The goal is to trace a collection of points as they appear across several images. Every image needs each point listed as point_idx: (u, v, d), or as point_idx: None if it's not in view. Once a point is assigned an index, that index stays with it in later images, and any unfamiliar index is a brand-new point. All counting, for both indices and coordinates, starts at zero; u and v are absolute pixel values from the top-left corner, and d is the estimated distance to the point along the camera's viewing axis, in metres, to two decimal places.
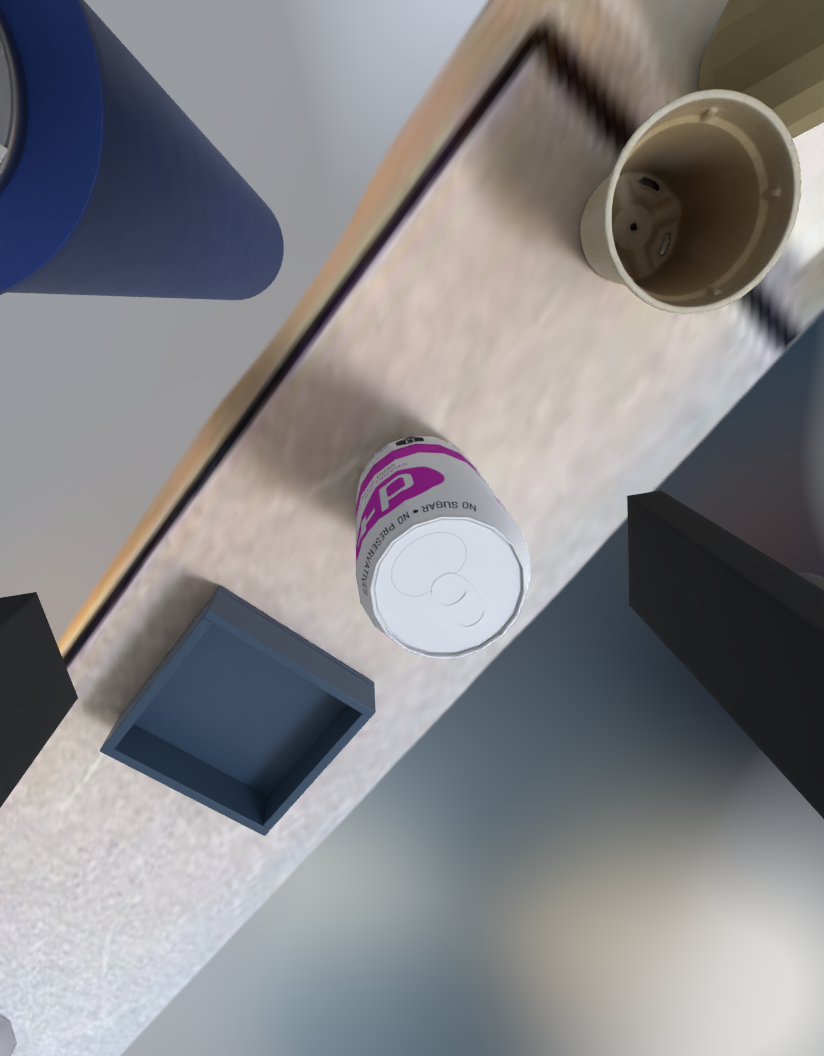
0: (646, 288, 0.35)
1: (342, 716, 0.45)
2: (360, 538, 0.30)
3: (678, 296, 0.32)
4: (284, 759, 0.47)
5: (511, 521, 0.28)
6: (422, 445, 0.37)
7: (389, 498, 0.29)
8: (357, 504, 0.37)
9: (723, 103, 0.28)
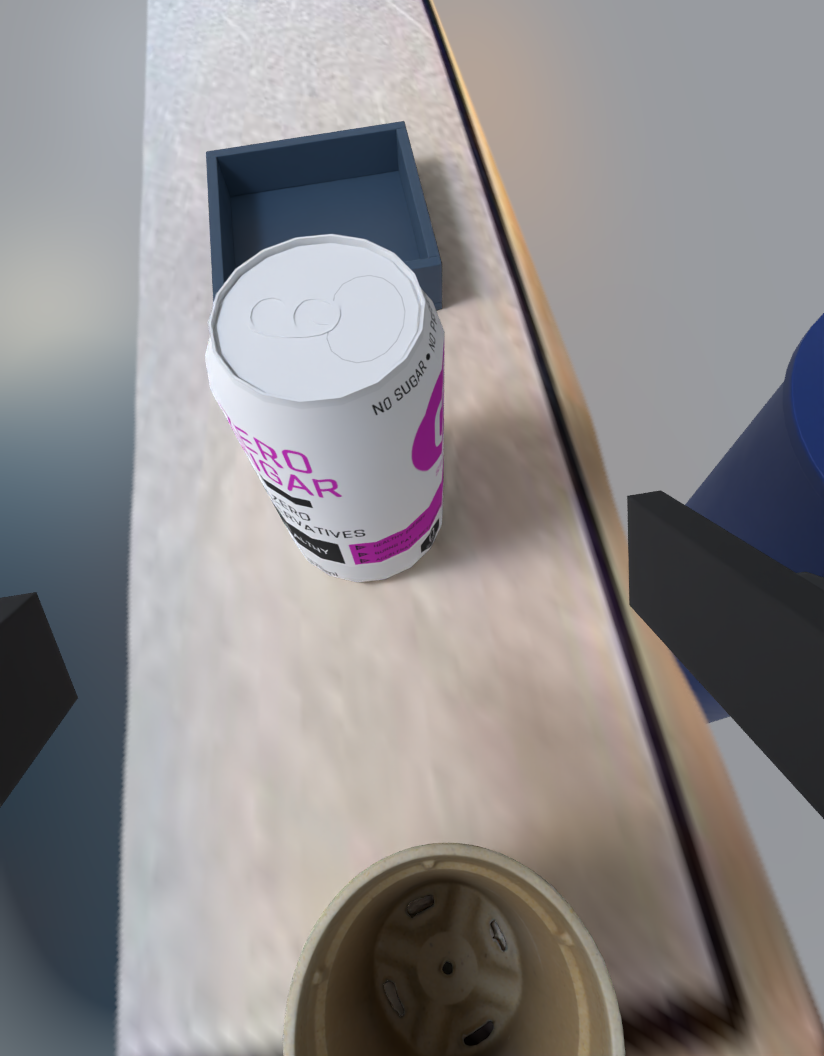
0: (379, 908, 0.23)
1: None
2: None
3: (350, 923, 0.20)
4: (246, 230, 0.42)
5: (317, 442, 0.19)
6: (423, 530, 0.29)
7: None
8: None
9: None
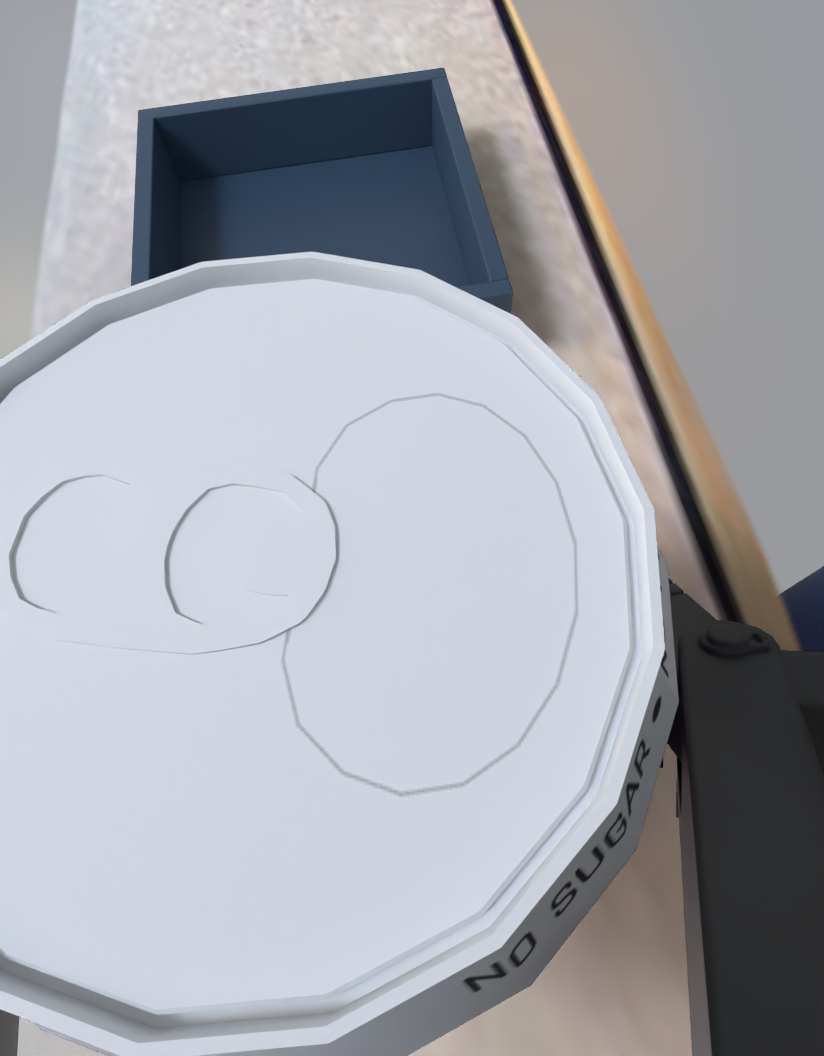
0: None
1: None
2: None
3: None
4: (201, 232, 0.28)
5: None
6: None
7: None
8: None
9: None
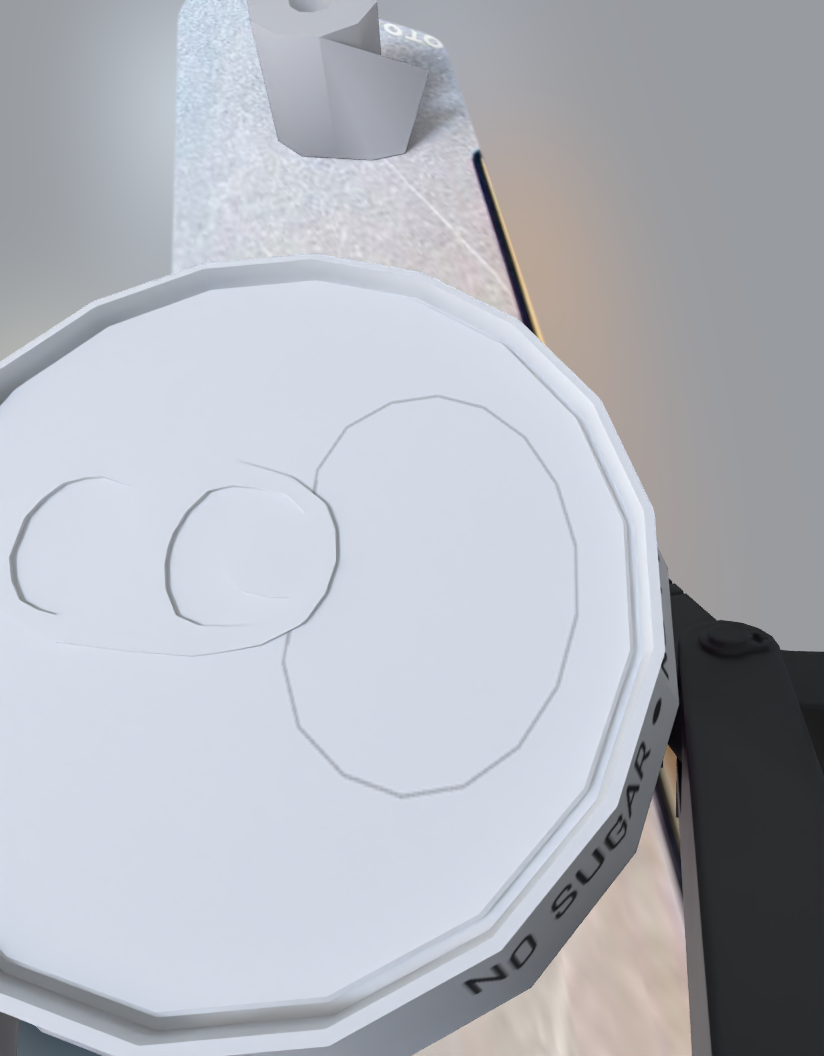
0: None
1: None
2: None
3: None
4: None
5: None
6: None
7: None
8: None
9: None
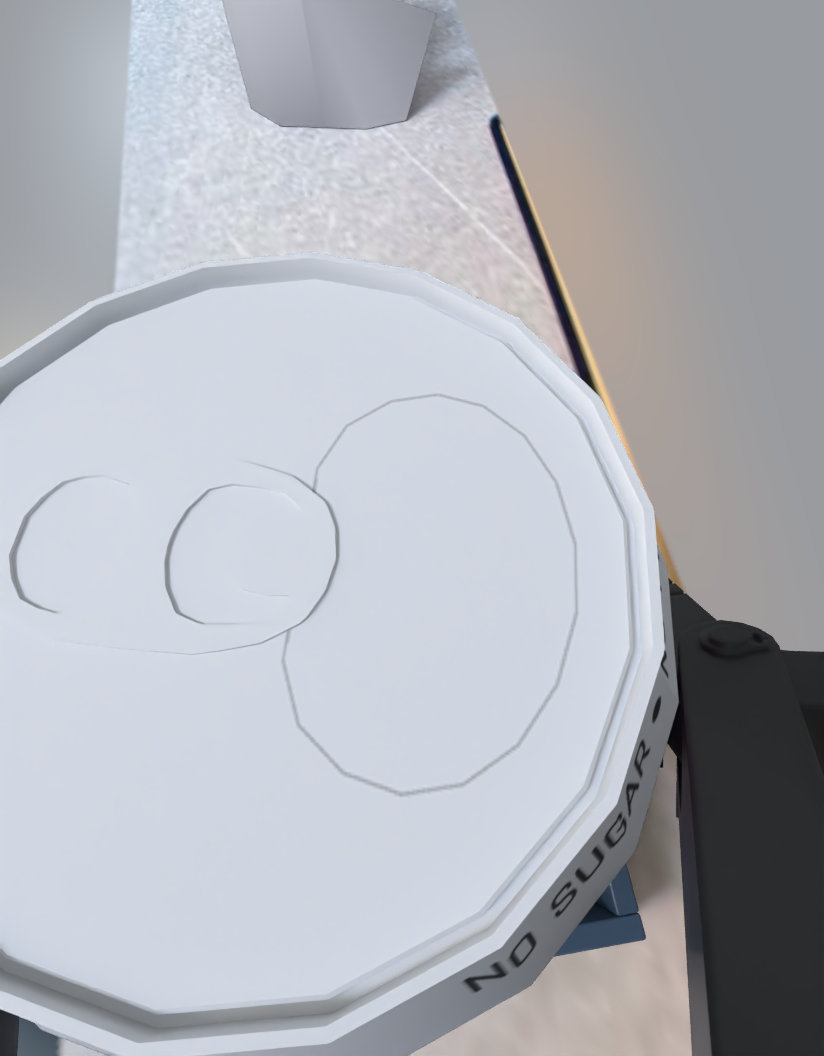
0: None
1: None
2: None
3: None
4: None
5: None
6: None
7: None
8: None
9: None
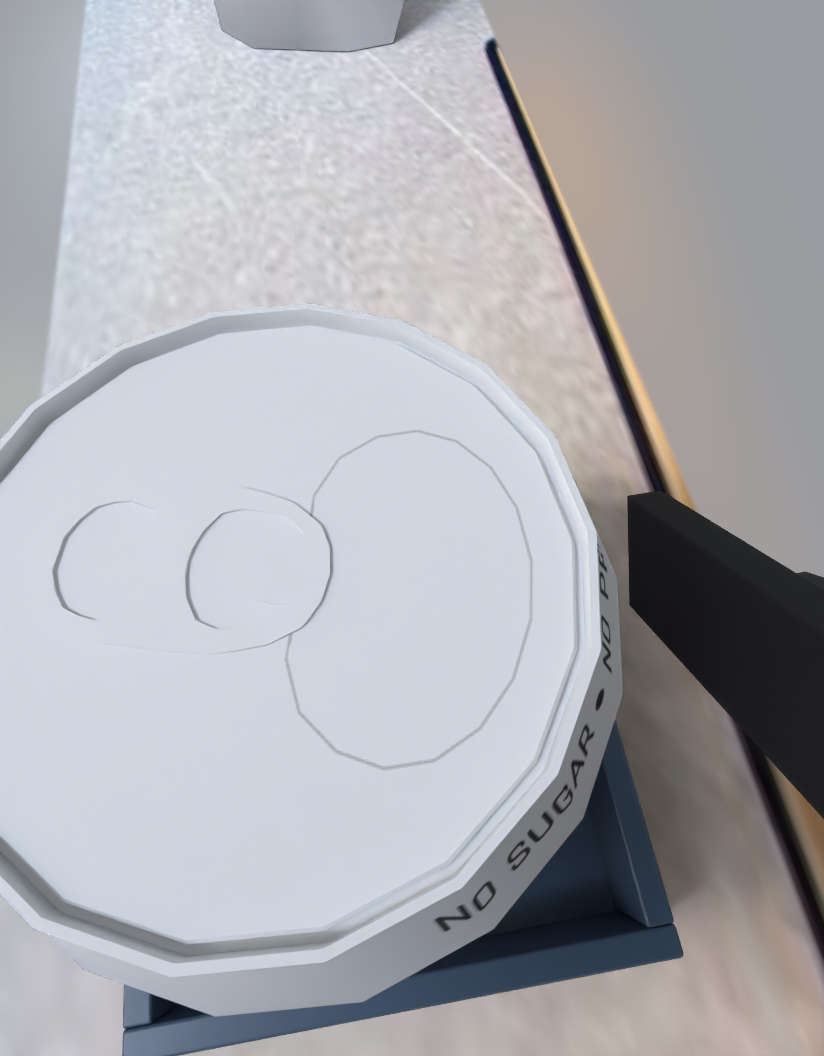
0: None
1: None
2: None
3: None
4: None
5: (251, 1008, 0.06)
6: None
7: None
8: None
9: None
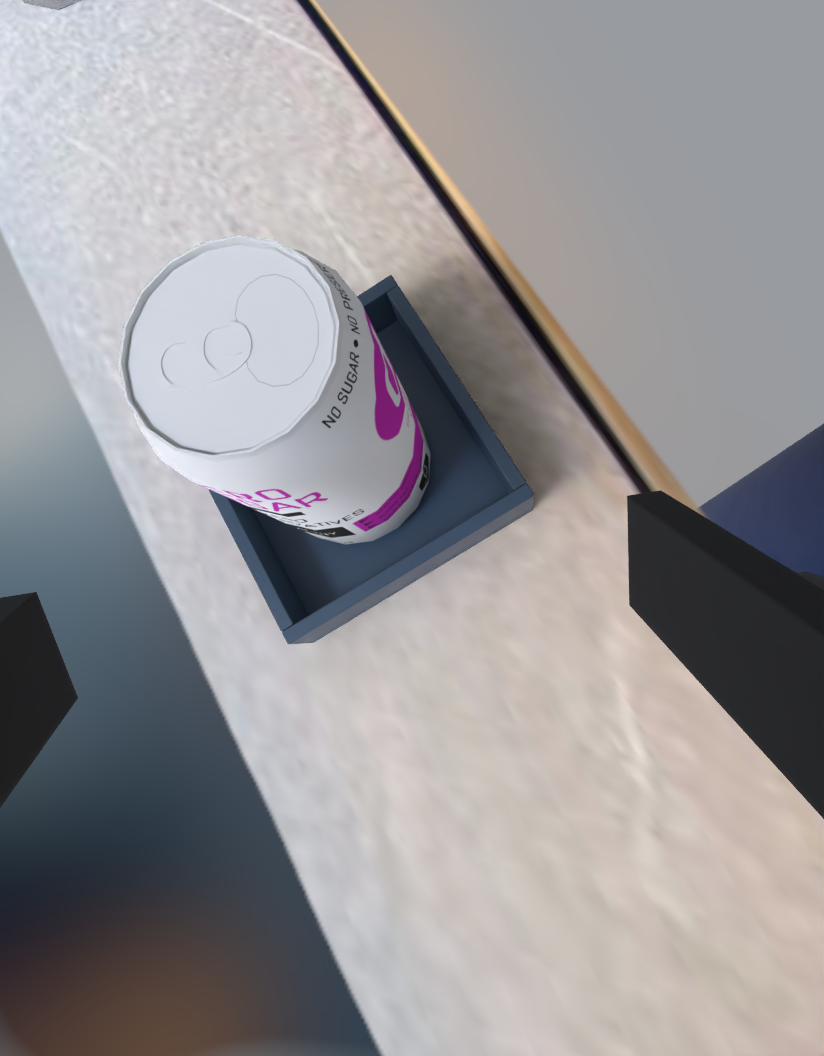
0: None
1: (288, 585, 0.32)
2: None
3: None
4: None
5: (285, 476, 0.19)
6: (416, 475, 0.28)
7: (381, 350, 0.21)
8: None
9: None
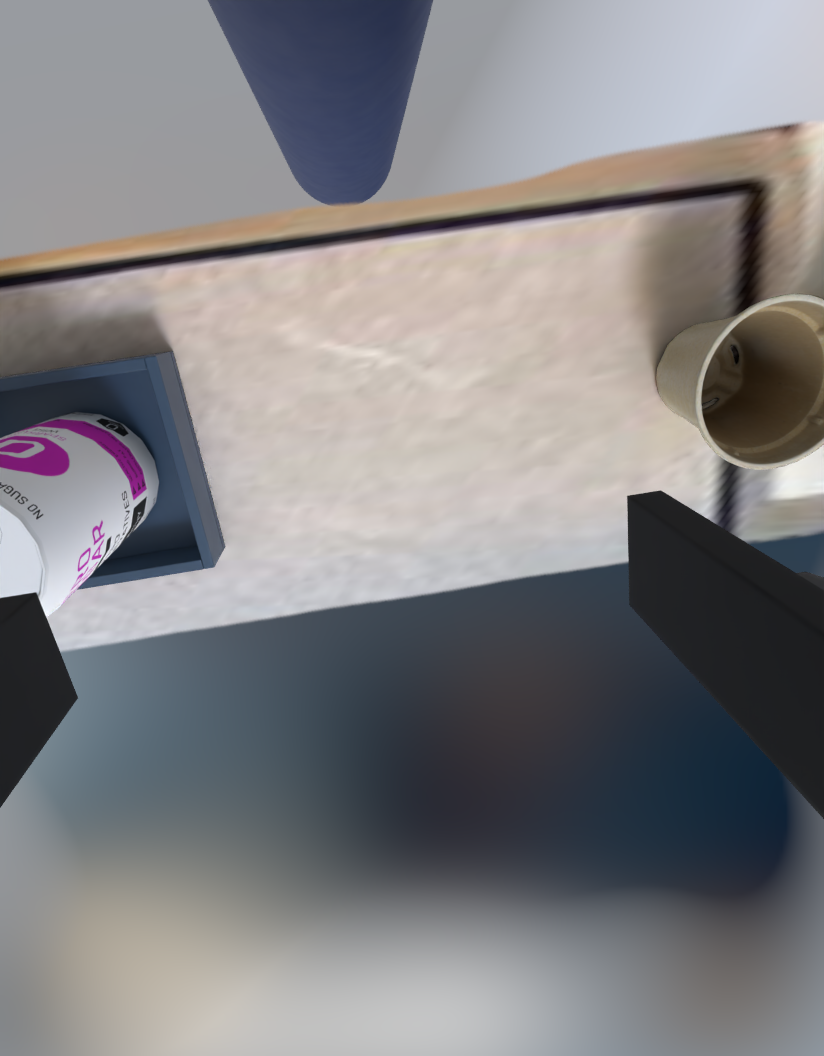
0: (686, 416, 0.39)
1: (174, 552, 0.42)
2: None
3: (710, 435, 0.36)
4: None
5: (71, 551, 0.28)
6: (111, 438, 0.36)
7: None
8: None
9: None
